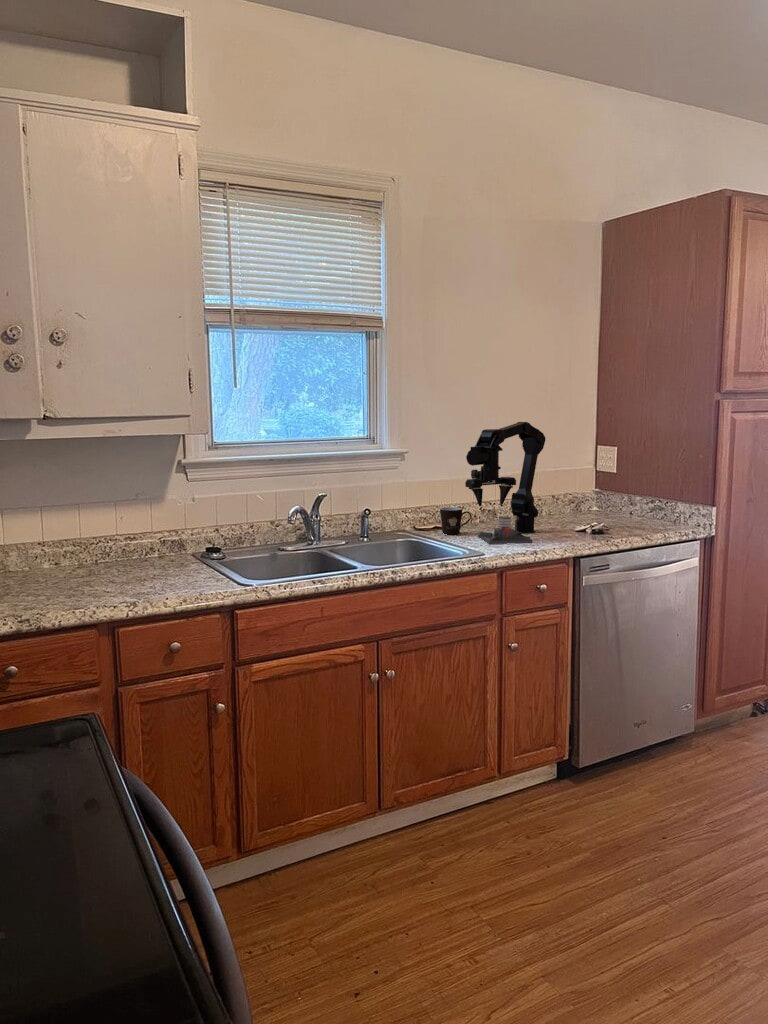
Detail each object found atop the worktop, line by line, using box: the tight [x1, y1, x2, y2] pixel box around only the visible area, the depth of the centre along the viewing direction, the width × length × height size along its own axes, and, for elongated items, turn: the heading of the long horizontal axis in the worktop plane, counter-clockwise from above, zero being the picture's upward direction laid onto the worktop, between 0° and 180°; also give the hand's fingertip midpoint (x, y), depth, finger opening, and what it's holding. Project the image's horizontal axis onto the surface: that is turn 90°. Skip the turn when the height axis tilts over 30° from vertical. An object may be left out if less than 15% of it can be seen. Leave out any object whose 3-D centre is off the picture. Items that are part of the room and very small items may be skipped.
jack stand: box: [477, 527, 533, 545], centre depth 288 cm, size 16×16×5 cm
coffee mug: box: [439, 506, 473, 536], centre depth 300 cm, size 12×9×10 cm
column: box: [497, 515, 512, 530], centre depth 288 cm, size 4×4×7 cm
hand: (490, 505), depth 290 cm, fingers open, 9 cm apart
